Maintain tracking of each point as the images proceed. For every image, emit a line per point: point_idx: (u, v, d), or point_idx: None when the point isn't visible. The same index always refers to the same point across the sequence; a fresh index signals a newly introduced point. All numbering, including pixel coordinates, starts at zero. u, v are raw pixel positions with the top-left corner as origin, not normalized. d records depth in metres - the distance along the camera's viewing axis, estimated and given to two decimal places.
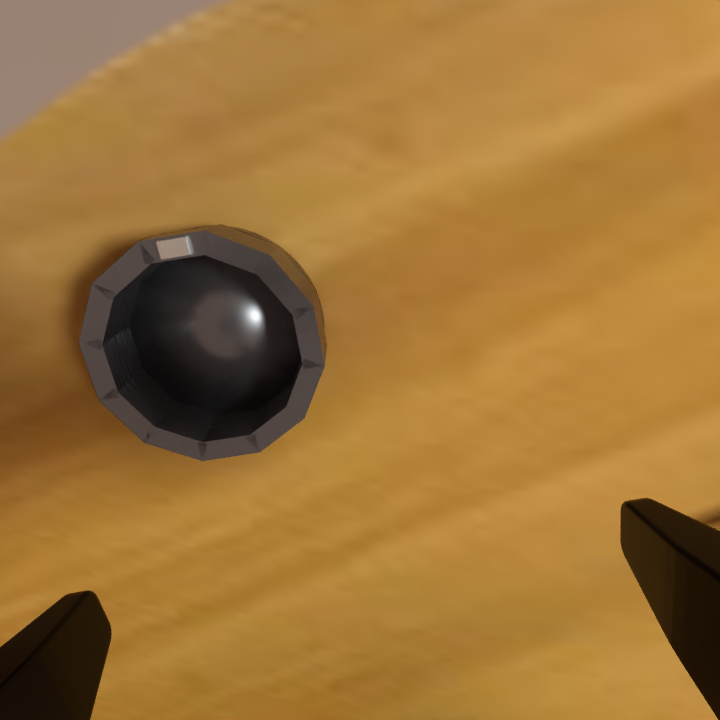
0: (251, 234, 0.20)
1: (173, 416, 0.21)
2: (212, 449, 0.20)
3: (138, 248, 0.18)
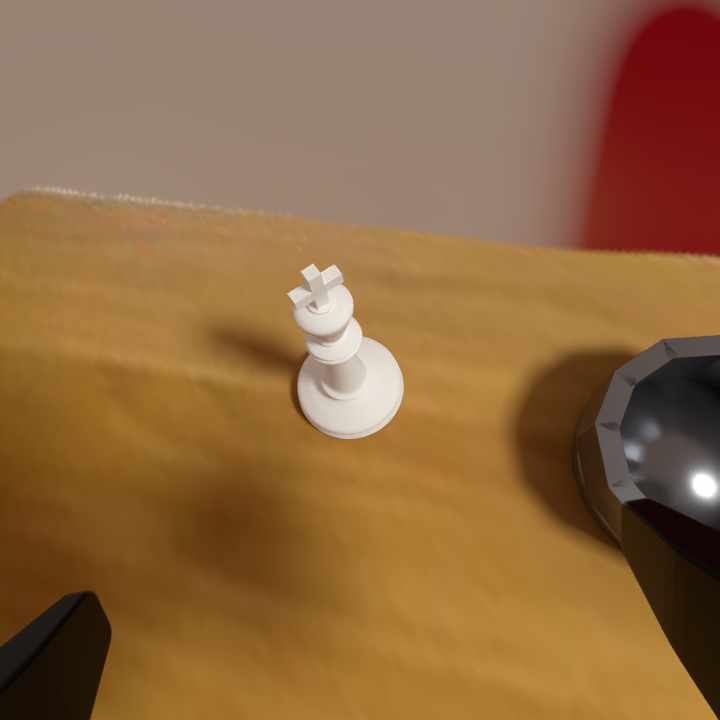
0: None
1: None
2: None
3: None
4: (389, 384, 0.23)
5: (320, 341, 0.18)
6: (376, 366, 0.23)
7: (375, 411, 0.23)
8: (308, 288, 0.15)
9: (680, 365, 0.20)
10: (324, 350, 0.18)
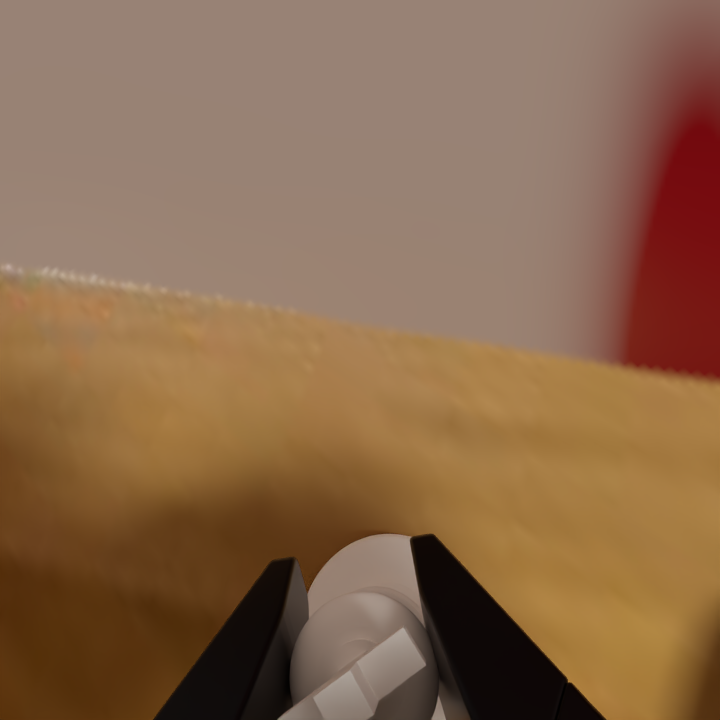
0: None
1: None
2: None
3: None
4: None
5: None
6: None
7: (439, 701, 0.13)
8: None
9: None
10: None
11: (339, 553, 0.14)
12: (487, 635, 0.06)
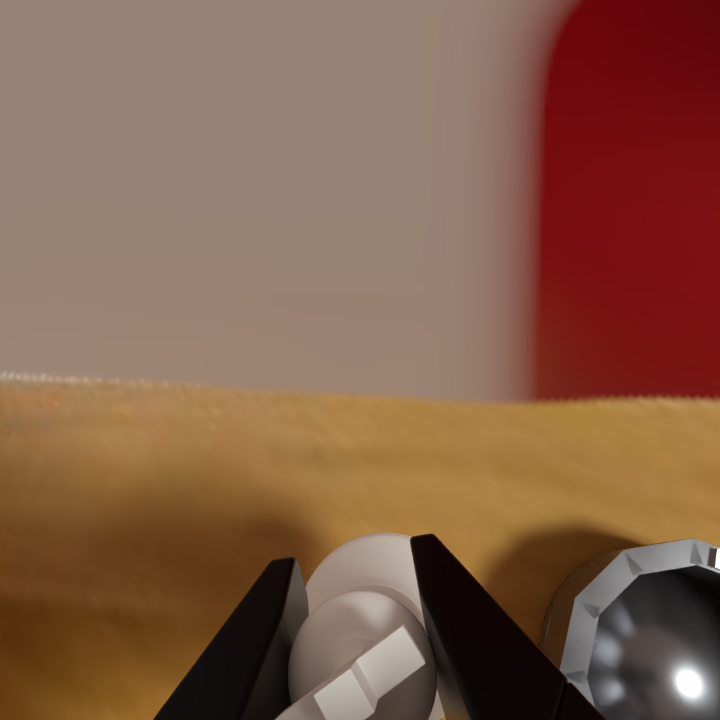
0: None
1: None
2: None
3: (689, 544, 0.17)
4: None
5: None
6: None
7: None
8: None
9: None
10: None
11: (335, 552, 0.14)
12: (487, 635, 0.06)
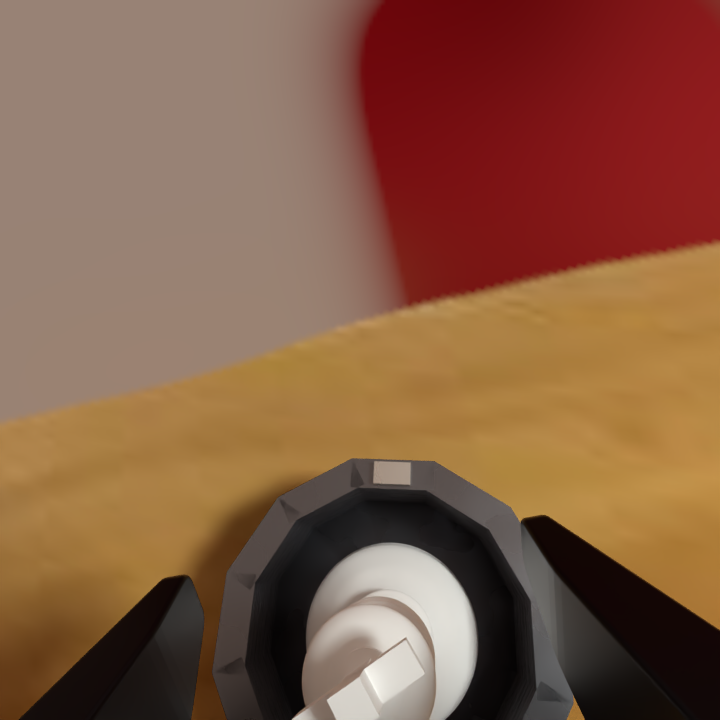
0: None
1: None
2: None
3: (348, 467, 0.14)
4: (459, 652, 0.14)
5: None
6: (437, 617, 0.14)
7: (435, 703, 0.13)
8: None
9: (323, 512, 0.15)
10: None
11: (344, 560, 0.15)
12: (646, 610, 0.06)
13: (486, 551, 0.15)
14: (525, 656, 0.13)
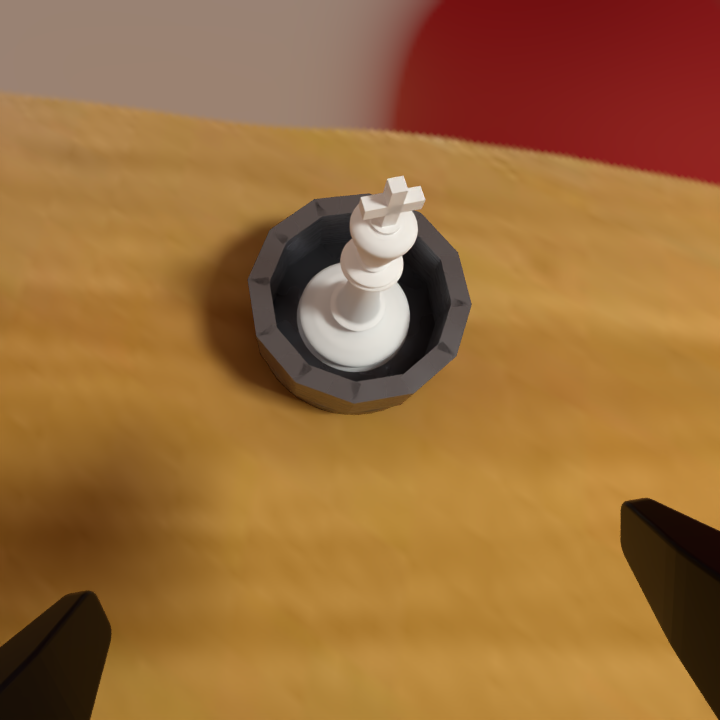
0: None
1: None
2: (312, 376, 0.19)
3: None
4: (395, 330, 0.22)
5: (360, 261, 0.17)
6: (389, 307, 0.22)
7: (372, 351, 0.21)
8: (385, 200, 0.14)
9: (337, 225, 0.22)
10: (360, 272, 0.17)
11: (338, 263, 0.22)
12: None
13: (428, 292, 0.23)
14: (434, 340, 0.21)
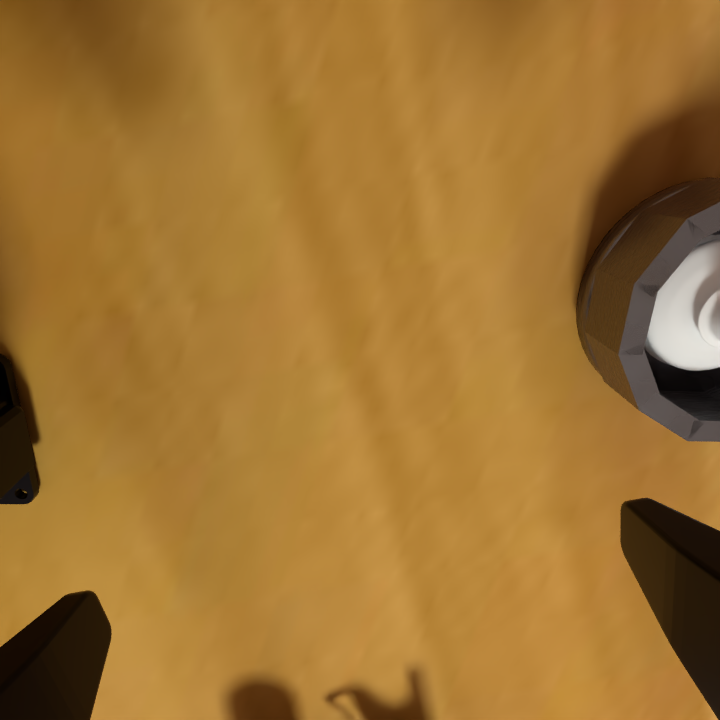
0: None
1: None
2: (643, 301, 0.16)
3: None
4: (697, 360, 0.19)
5: None
6: None
7: (668, 343, 0.18)
8: None
9: None
10: None
11: None
12: None
13: None
14: (694, 406, 0.19)
